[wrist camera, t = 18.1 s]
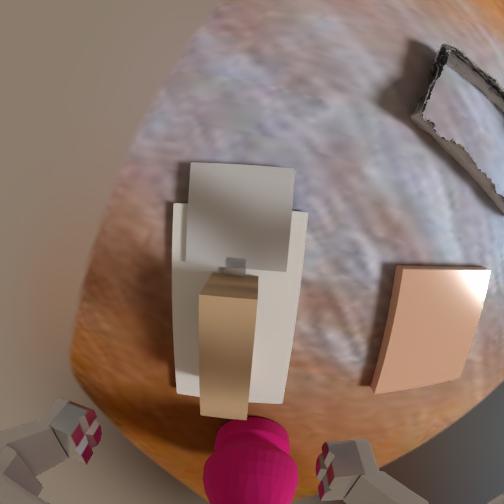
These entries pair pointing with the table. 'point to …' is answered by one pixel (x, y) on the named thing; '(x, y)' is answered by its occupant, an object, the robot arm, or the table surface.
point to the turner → (234, 269)
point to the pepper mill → (250, 464)
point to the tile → (429, 325)
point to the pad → (267, 317)
